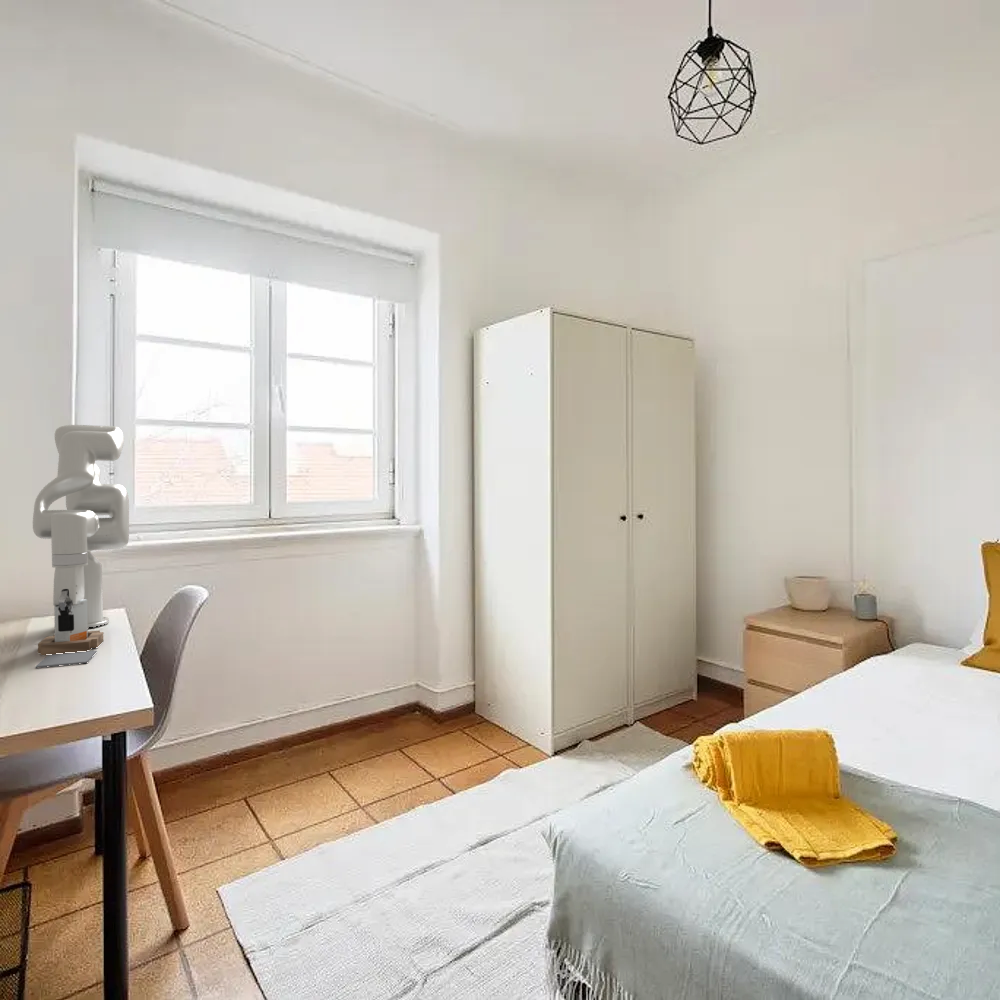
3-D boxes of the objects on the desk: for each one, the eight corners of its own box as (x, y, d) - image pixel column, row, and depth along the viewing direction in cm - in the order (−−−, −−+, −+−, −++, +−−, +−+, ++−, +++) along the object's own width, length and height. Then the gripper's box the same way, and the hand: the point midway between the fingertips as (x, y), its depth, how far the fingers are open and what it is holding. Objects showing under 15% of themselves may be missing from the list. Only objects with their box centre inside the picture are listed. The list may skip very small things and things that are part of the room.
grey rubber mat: (48, 656, 150) (48, 654, 150) (96, 652, 154) (96, 650, 154) (35, 668, 141) (35, 666, 141) (87, 663, 145) (87, 661, 145)
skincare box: (68, 651, 155) (67, 603, 155) (54, 650, 156) (53, 603, 156) (89, 644, 161) (88, 599, 161) (75, 643, 162) (74, 598, 162)
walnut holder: (49, 643, 162) (49, 634, 162) (105, 639, 167) (105, 629, 167) (34, 656, 151) (34, 646, 150) (94, 651, 155) (94, 641, 155)
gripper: (61, 557, 165) (63, 620, 165) (41, 565, 149) (43, 635, 149) (94, 555, 167) (96, 618, 168) (78, 563, 151) (80, 633, 152)
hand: (71, 626), depth 158 cm, fingers open, 9 cm apart
